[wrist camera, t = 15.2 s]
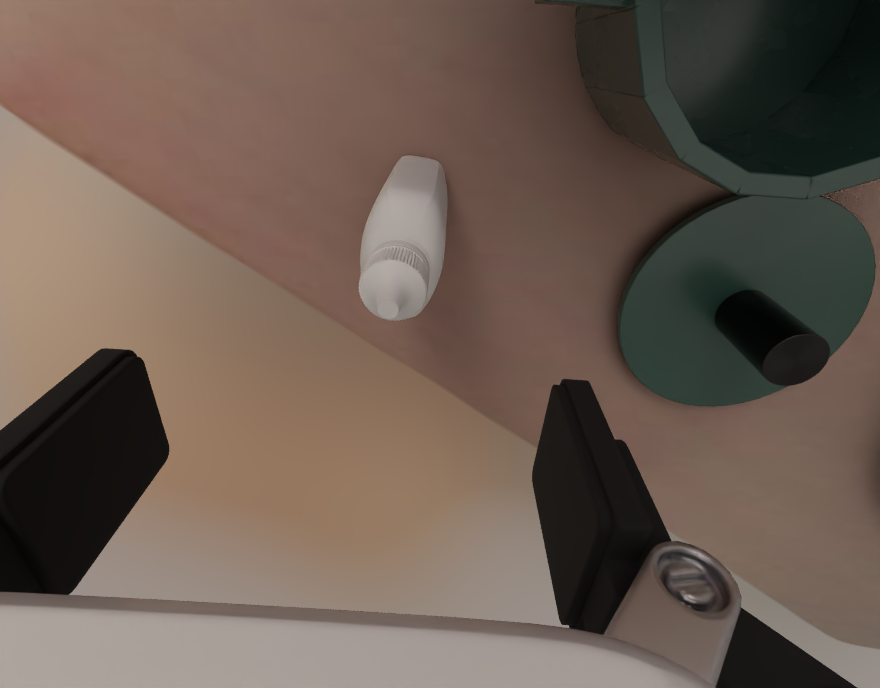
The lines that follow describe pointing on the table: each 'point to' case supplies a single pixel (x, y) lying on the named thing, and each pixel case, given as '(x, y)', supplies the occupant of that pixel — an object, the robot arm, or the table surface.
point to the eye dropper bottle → (405, 240)
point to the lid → (745, 299)
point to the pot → (740, 87)
